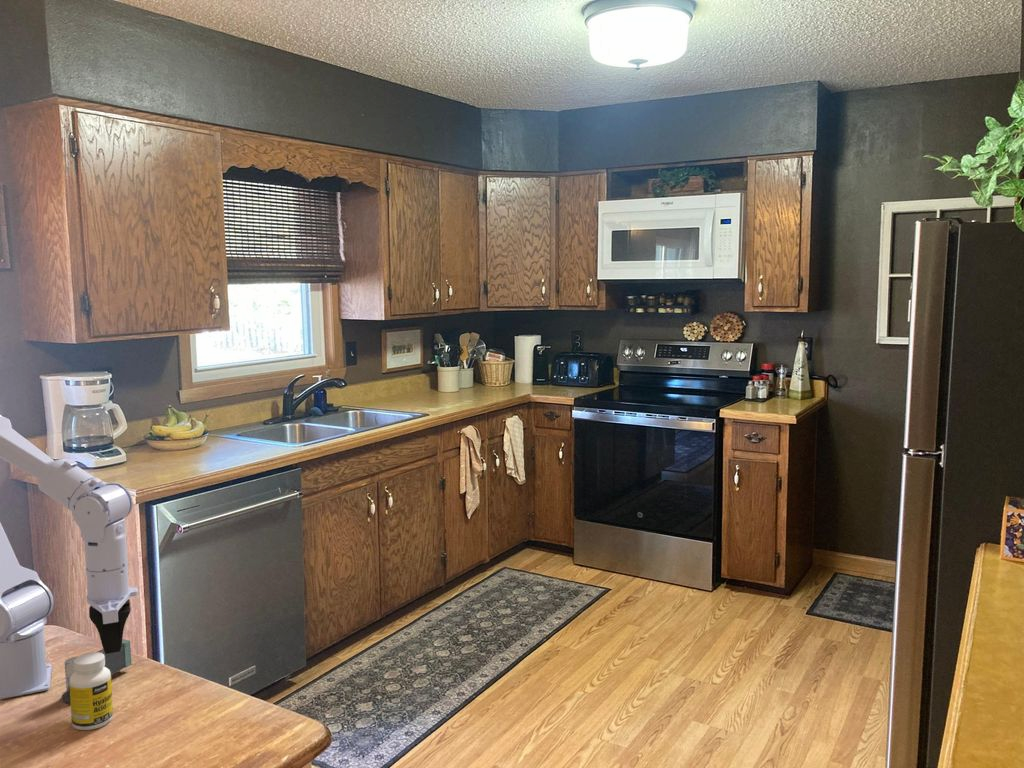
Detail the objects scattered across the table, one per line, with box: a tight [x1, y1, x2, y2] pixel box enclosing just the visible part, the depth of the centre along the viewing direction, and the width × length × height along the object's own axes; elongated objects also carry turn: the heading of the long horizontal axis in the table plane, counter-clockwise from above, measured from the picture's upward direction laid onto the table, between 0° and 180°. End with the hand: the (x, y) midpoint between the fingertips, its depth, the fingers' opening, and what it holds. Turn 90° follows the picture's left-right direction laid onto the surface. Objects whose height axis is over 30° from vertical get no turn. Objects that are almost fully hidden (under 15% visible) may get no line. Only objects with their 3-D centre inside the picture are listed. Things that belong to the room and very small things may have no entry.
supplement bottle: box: [69, 651, 114, 731], centre depth 122 cm, size 5×5×10 cm
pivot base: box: [61, 690, 71, 705], centre depth 130 cm, size 4×4×1 cm
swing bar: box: [64, 638, 133, 696], centre depth 133 cm, size 11×3×5 cm, turn 160°
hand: (112, 651), depth 129 cm, fingers closed
